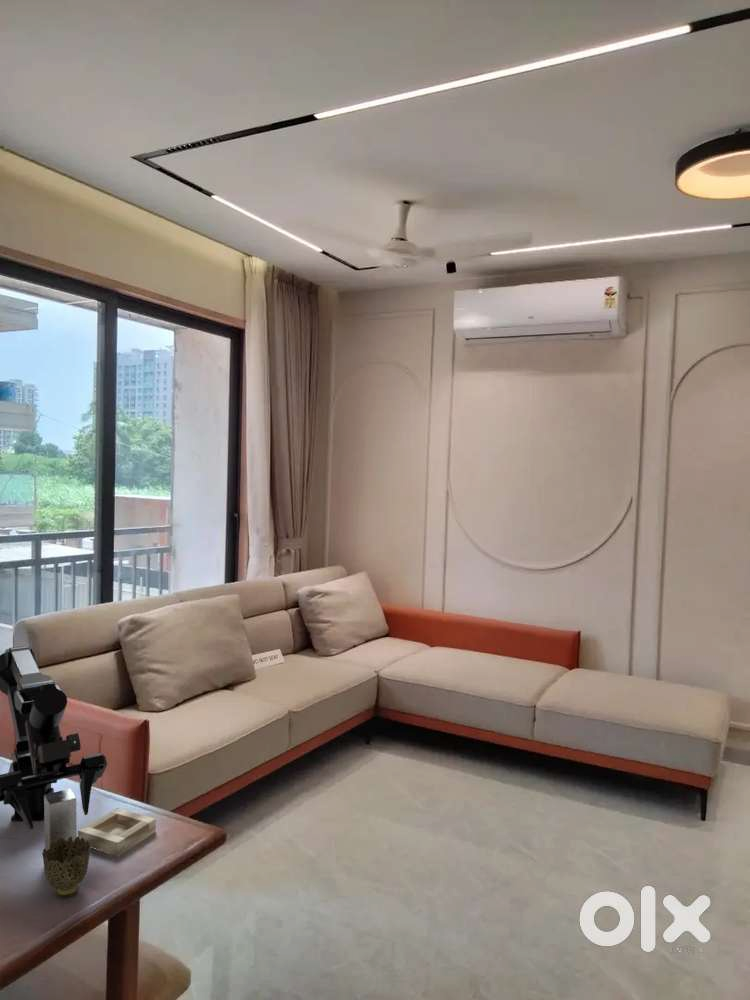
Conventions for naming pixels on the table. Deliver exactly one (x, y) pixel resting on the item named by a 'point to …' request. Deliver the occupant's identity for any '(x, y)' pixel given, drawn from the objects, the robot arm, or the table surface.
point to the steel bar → (60, 816)
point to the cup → (66, 865)
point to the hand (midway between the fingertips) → (59, 821)
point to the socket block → (118, 831)
